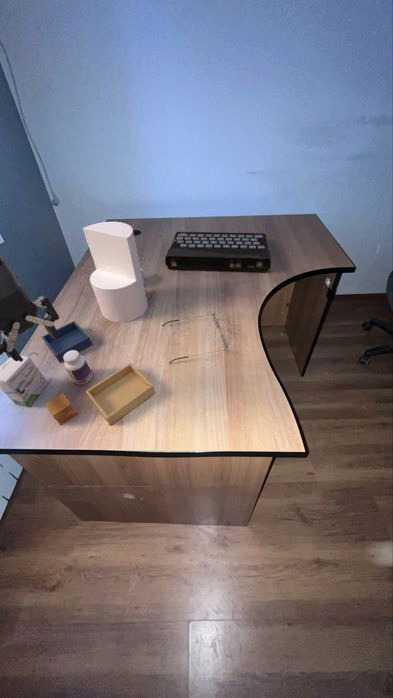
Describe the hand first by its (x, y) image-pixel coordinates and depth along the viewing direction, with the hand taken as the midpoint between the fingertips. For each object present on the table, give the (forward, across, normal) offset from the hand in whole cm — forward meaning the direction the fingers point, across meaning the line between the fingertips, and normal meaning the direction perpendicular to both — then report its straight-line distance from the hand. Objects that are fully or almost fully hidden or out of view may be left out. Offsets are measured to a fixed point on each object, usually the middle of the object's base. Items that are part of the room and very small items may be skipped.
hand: (37, 348), depth 61 cm
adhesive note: (+18, -50, -24) cm, 59 cm away
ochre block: (+18, +4, +5) cm, 20 cm away
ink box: (+19, +6, -9) cm, 21 cm away
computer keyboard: (+18, -89, -7) cm, 91 cm away
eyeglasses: (+18, -37, +16) cm, 45 cm away
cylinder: (+18, -36, -16) cm, 44 cm away
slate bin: (+18, -12, -16) cm, 27 cm away
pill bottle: (+19, -6, -1) cm, 20 cm away
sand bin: (+18, -8, +13) cm, 24 cm away
